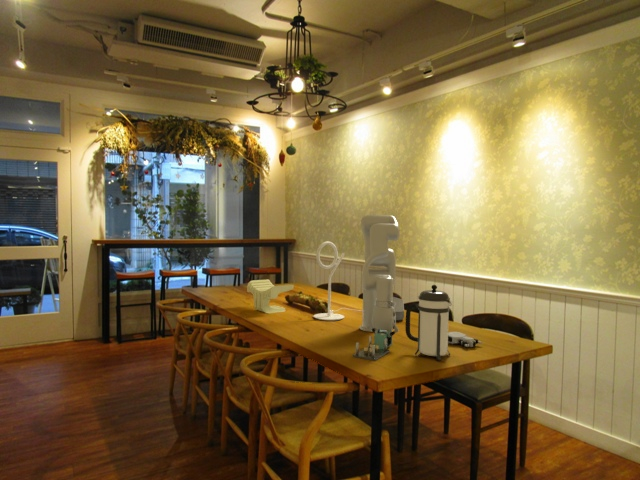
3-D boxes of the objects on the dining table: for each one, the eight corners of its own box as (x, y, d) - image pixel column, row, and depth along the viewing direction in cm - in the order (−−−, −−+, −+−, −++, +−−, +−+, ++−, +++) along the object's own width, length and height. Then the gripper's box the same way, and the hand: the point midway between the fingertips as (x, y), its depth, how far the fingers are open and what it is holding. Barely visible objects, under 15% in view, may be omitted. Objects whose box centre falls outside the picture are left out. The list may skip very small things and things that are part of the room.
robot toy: (483, 348, 202) (456, 338, 214) (484, 338, 201) (456, 329, 214) (466, 352, 195) (439, 342, 207) (467, 342, 194) (440, 333, 206)
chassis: (368, 348, 195) (368, 335, 195) (389, 352, 190) (389, 338, 190) (352, 356, 182) (353, 342, 182) (375, 360, 177) (375, 346, 177)
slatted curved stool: (246, 308, 285) (247, 280, 284) (268, 306, 294) (268, 279, 294) (270, 316, 261) (270, 286, 260) (293, 313, 270) (293, 284, 270)
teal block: (382, 342, 205) (383, 329, 204) (392, 344, 202) (392, 330, 202) (374, 347, 196) (374, 333, 196) (383, 349, 194) (383, 335, 193)
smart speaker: (407, 321, 254) (407, 296, 253) (393, 322, 250) (393, 297, 250) (398, 317, 262) (399, 294, 262) (384, 318, 259) (385, 295, 259)
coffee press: (443, 350, 194) (445, 282, 193) (456, 361, 178) (458, 287, 177) (404, 350, 193) (406, 281, 192) (413, 361, 177) (415, 286, 176)
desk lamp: (325, 322, 245) (327, 242, 244) (305, 317, 259) (306, 240, 258) (371, 315, 269) (373, 241, 268) (351, 310, 283) (352, 240, 282)
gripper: (405, 305, 197) (404, 345, 198) (370, 301, 206) (369, 340, 207) (398, 307, 191) (398, 349, 192) (363, 303, 200) (362, 343, 200)
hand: (383, 344), depth 199 cm, fingers closed on teal block, 4 cm apart
